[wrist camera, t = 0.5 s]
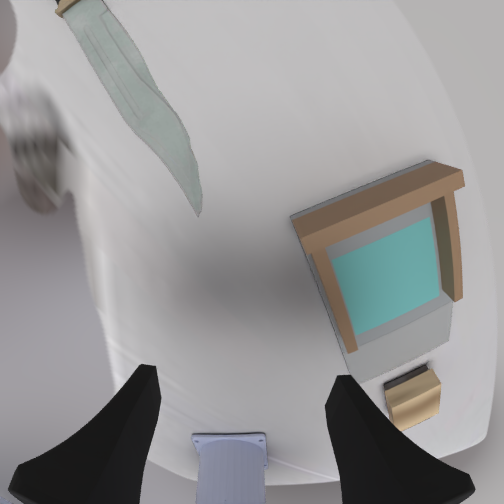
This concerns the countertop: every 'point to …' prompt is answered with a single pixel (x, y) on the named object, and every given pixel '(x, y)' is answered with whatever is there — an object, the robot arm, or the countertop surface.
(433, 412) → the tan cardboard box
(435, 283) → the bay pad
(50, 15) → the countertop surface
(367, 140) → the countertop surface
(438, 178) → the dock
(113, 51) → the knife
